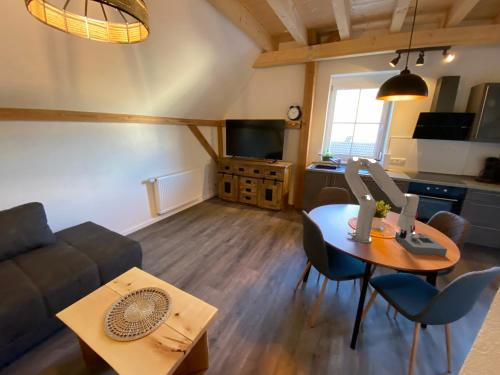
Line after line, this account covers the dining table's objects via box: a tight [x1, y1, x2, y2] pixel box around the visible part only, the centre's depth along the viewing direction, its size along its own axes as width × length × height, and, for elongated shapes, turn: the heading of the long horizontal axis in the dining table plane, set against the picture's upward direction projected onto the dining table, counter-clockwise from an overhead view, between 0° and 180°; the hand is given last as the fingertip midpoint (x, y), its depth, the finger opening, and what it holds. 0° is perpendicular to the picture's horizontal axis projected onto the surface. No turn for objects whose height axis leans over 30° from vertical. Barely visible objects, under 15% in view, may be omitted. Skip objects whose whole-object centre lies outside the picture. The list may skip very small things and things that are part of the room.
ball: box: [410, 232, 419, 240], centre depth 145 cm, size 5×5×5 cm
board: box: [394, 231, 448, 257], centre depth 146 cm, size 20×20×5 cm
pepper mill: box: [410, 211, 419, 233], centre depth 163 cm, size 7×7×20 cm
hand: (402, 237), depth 146 cm, fingers closed
